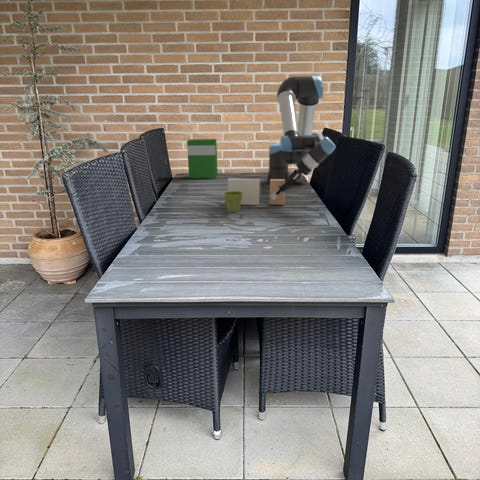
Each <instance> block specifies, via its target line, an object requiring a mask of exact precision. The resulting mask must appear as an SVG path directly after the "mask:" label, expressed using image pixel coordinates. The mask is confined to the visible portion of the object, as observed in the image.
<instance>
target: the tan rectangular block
mask: <svg viewBox="0 0 480 480" xmlns="http://www.w3.org/2000/svg"><path fill="white" fill-rule="evenodd" d="M284 183H285V179H270V183H269V205H281V206H282V205H285V198H286V197H285V193H286V192H285V191H286V190H285V191H283V192H282V193H281V194H280V195H279V196H278V197H277V198H276V199H275V200H273V199H272V198H271V197H270V196H271V195H272V194H273V193H274V192H275V191H276V190H277V189H278V188H279V186H280V187H281V186H282V185H283V184H284Z"/></svg>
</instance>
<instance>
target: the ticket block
mask: <svg viewBox="0 0 480 480" xmlns="http://www.w3.org/2000/svg"><path fill="white" fill-rule="evenodd" d="M229 191H239V192H243V195H242V198H241V205H244V206H245V205H249V206H252V205H253V206H255V205H256V206H260V205H262V179H261V178H237V177H236V178H234V177H233V178H228V179H227V192H229Z"/></svg>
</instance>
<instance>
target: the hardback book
mask: <svg viewBox="0 0 480 480" xmlns="http://www.w3.org/2000/svg"><path fill="white" fill-rule="evenodd" d="M217 142H218V141H217V139H216V138H207V139H206V138H205V139H204V138H203V139H202V138H200V139H199V138H198V139H197V138H196V139H191V138H190V139H188V140H186V147H187V148H186V149H187V164H188V165H187V167H188V178H216V179H217V177H216V176H219V173H218V171H219V170H218V151H217V150H218V149H217V148H218V147H217Z"/></svg>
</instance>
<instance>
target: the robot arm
mask: <svg viewBox="0 0 480 480" xmlns="http://www.w3.org/2000/svg"><path fill="white" fill-rule="evenodd" d="M323 97H324V85H323V80H322V78H321V76H319V75H317V76H316V75H310V76H309V75H306V76H302V75H301V76H296V75H294V76H290V77H287V78H285V80H283V81H282V82H281V84H280V85H279V87H278V89H277V94H276V98H277V99H276V100H277V102H278V104H279V108H280V116H281V117H280V118H281V124H282V133H283V135H281V136H280V141H279V142H276V143H273V144H271V145H270V146H269V150H268V171H267V174H266V177H265V180H266V181H265V182H266V183H267V184H270V179H285V183H284V184H283V185H282V186H281V187H280V186H279V188H278V189H277V190H276V191H275V192H274V193H273V194H272V195H271V196H270V195H269V198H270V197H271V198H272V199H273V200H275V199H276V198H277V197H278V196H279V195H280V194H281V193H282V192H283V191H286V190H287V189H288V188H289V187H291V185H293V184H294V183H295V182H296V181H297V180H298V179H300V178H301V177H302V174H303V175H304V176H308V175H309V174H311V173H312V171H313V170H314V169H315V168H318V167H319V166H320V163H322V162H323V161H324V160H325V159H326V158H327V157H329V155H331V154H332V153H333V152H334V151H335V149H336V148H337V147H336V144H335V143H334V142H333V141H332V140H331V138H329V137H328V136H324V135H323V134H322V133H320V132H313V128H314V127H313V126H314V118H315V111H316V106H317V105H318V104H319V103H320V100H322V99H324V98H323ZM295 101H297V103H298V104H299V108H298V118H297V111H296V105H295V104H296V103H295ZM289 165H296V167H297V169H295V170H293V172H292V173H291V174H290V171H289Z"/></svg>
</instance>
